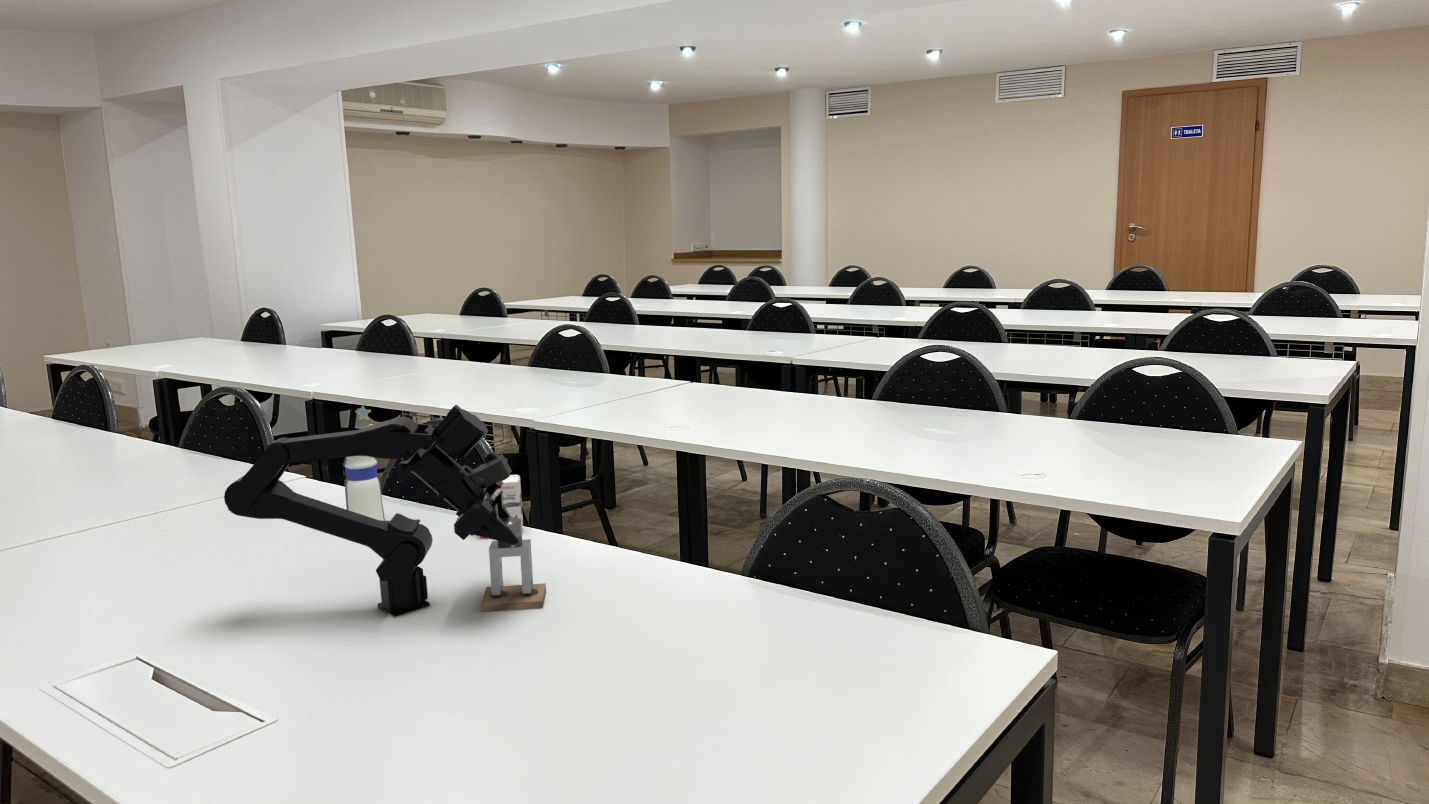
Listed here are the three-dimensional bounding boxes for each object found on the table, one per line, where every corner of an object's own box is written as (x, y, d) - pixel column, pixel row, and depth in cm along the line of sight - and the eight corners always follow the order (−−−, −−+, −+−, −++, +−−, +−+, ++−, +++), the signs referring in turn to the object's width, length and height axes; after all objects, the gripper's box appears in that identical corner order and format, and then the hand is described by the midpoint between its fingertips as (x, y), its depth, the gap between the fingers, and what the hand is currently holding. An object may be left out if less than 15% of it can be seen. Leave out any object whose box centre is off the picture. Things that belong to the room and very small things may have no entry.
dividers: (491, 595, 159) (487, 525, 157) (494, 586, 163) (490, 518, 160) (531, 593, 159) (527, 523, 157) (533, 584, 163) (529, 516, 161)
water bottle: (342, 520, 209) (331, 407, 204) (383, 515, 212) (373, 403, 208) (345, 531, 201) (333, 414, 197) (388, 525, 205) (377, 409, 200)
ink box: (479, 539, 194) (475, 482, 192) (481, 531, 199) (477, 476, 197) (522, 536, 195) (518, 480, 193) (523, 529, 200) (520, 474, 198)
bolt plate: (480, 611, 157) (479, 604, 157) (487, 593, 165) (486, 586, 164) (542, 607, 158) (542, 600, 158) (546, 589, 166) (545, 582, 165)
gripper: (470, 454, 147) (547, 520, 150) (486, 429, 165) (555, 489, 168) (421, 506, 147) (498, 571, 151) (443, 476, 166) (511, 534, 169)
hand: (518, 538), depth 159 cm, fingers open, 4 cm apart
